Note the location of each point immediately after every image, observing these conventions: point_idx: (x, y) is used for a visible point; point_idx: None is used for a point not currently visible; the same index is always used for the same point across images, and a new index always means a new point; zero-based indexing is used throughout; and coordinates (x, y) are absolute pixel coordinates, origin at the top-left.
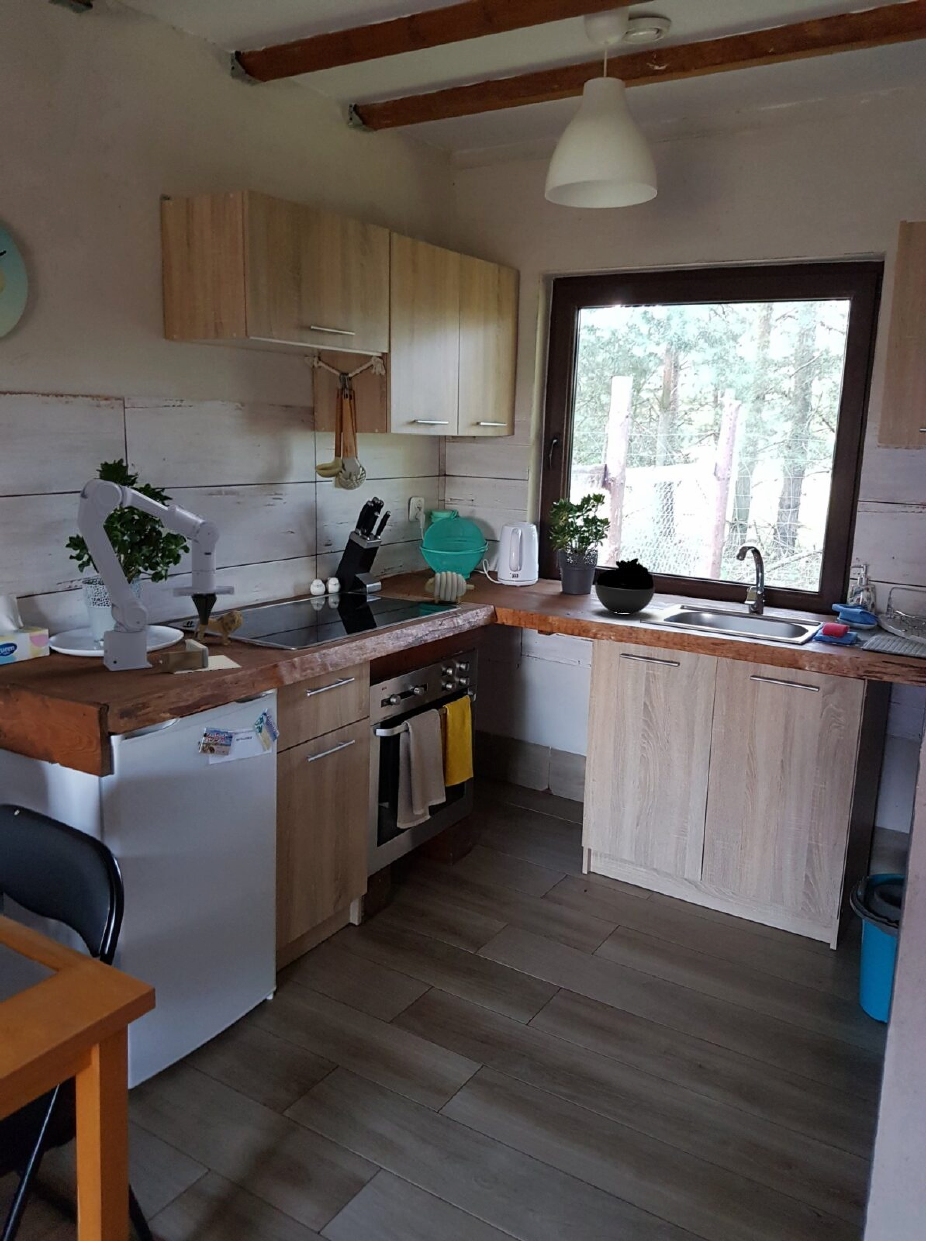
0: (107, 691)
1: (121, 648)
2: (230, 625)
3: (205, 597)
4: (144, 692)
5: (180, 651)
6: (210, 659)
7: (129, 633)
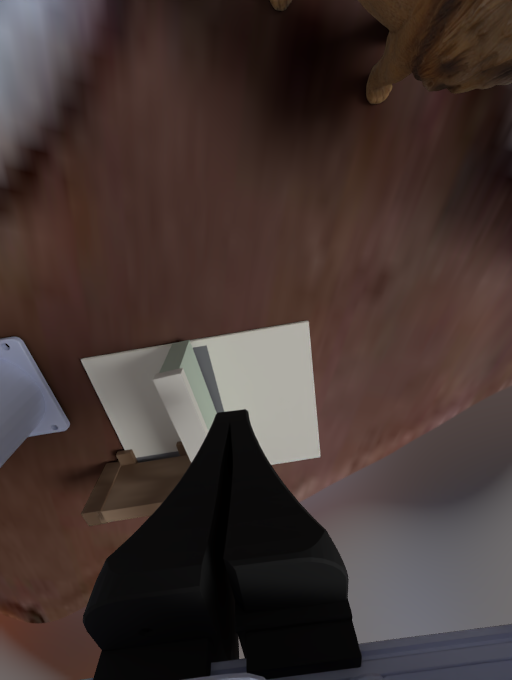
0: (11, 563)
1: None
2: (464, 83)
3: (245, 646)
4: (89, 573)
5: (141, 509)
6: (252, 370)
7: None
